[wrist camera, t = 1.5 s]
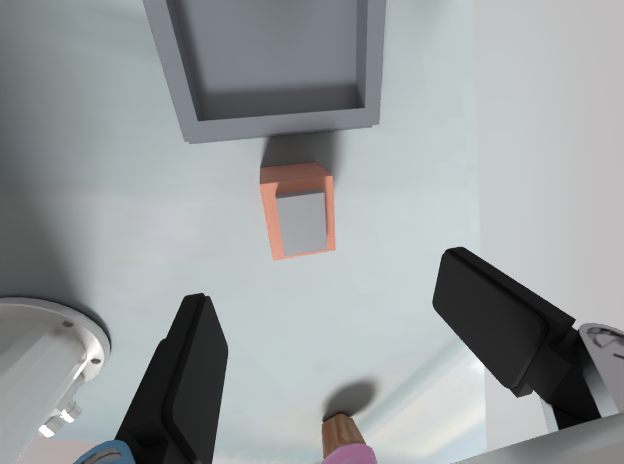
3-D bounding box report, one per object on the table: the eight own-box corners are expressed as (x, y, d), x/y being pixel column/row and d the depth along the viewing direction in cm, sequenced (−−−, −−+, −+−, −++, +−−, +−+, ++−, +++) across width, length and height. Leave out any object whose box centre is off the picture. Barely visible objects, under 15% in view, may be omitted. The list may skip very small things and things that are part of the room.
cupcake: (303, 425, 40) (314, 511, 31) (342, 398, 39) (365, 480, 30) (333, 437, 44) (350, 517, 35) (369, 414, 43) (397, 490, 34)
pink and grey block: (319, 221, 24) (338, 256, 18) (270, 228, 23) (273, 267, 17) (315, 161, 21) (337, 178, 15) (260, 167, 21) (259, 188, 14)
